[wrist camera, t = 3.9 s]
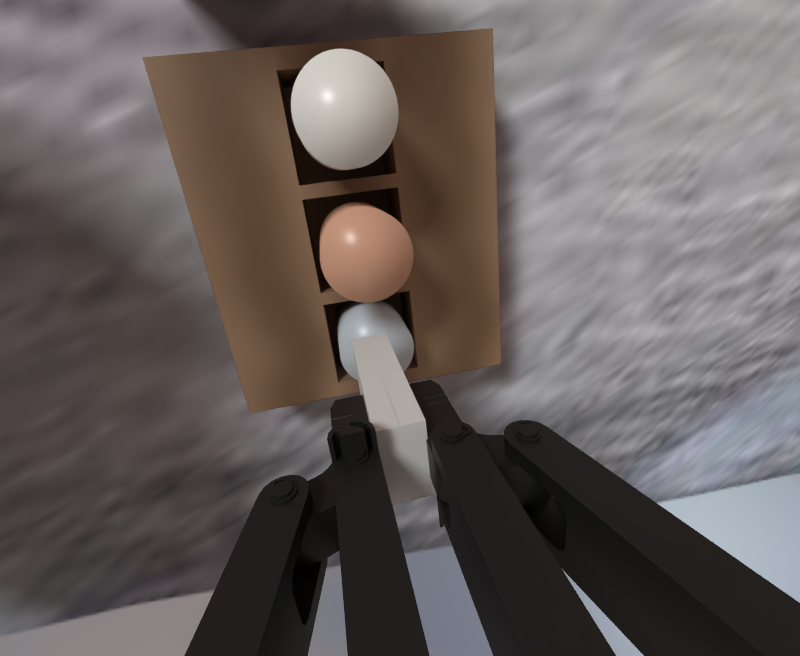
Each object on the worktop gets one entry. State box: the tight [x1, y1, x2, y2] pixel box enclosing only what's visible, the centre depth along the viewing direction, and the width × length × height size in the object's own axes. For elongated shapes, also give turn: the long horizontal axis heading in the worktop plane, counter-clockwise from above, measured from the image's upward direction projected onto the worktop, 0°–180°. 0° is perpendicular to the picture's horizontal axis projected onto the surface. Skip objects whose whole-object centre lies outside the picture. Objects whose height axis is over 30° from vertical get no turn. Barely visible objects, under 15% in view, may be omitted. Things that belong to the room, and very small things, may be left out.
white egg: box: [291, 49, 399, 170], centre depth 16 cm, size 4×4×5 cm
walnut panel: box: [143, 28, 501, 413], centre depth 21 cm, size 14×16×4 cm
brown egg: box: [320, 201, 413, 303], centre depth 18 cm, size 4×4×5 cm
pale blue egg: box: [336, 297, 414, 380], centre depth 22 cm, size 4×4×5 cm
